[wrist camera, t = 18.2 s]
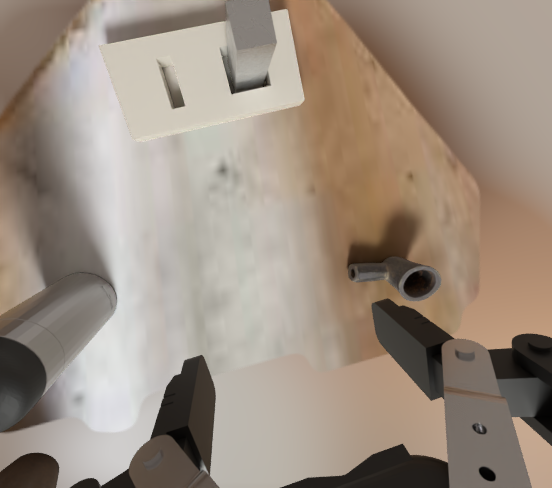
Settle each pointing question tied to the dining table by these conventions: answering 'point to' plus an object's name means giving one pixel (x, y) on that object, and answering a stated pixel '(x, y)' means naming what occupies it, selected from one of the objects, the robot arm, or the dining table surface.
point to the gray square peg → (249, 42)
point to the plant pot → (31, 472)
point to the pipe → (399, 276)
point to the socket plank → (196, 79)
